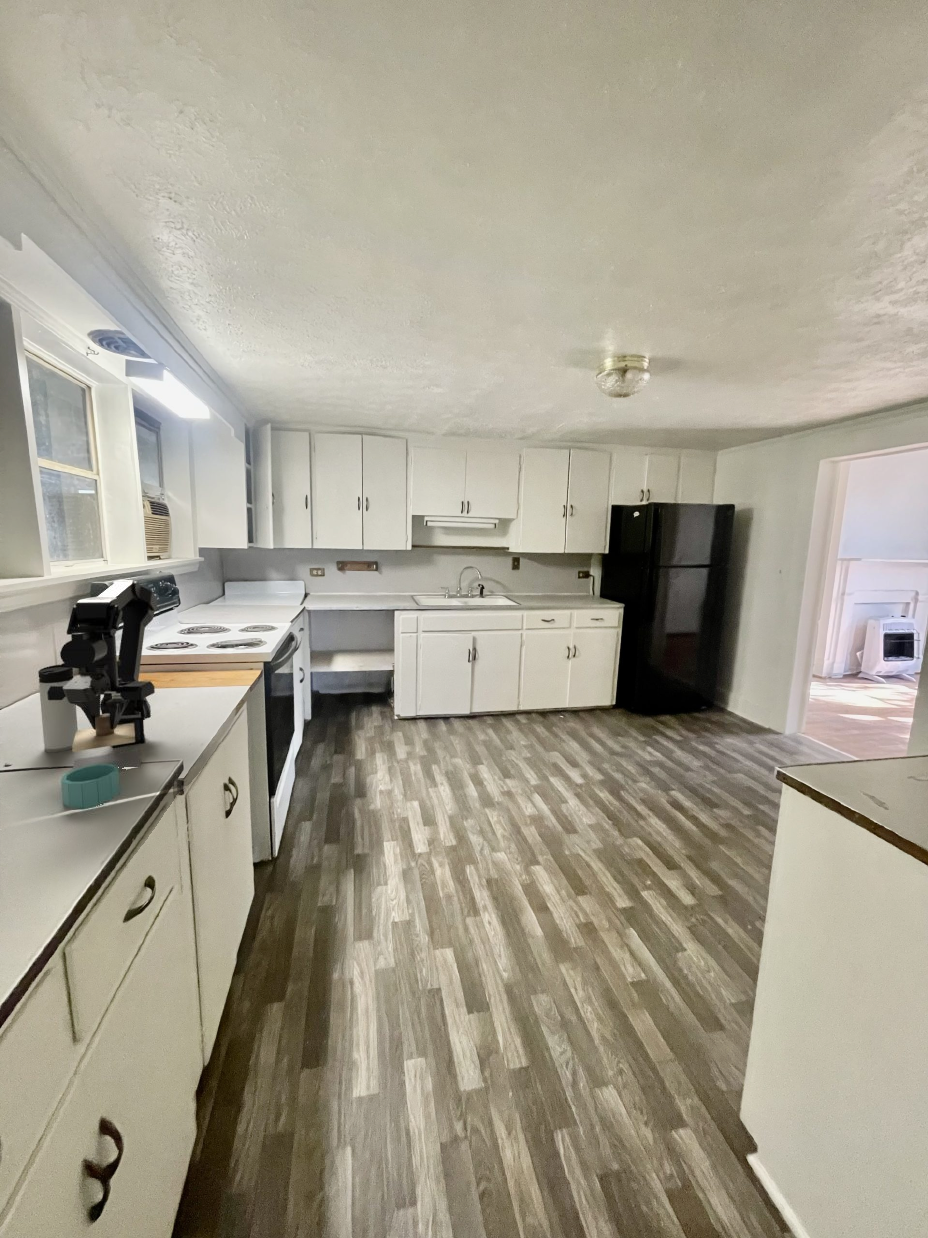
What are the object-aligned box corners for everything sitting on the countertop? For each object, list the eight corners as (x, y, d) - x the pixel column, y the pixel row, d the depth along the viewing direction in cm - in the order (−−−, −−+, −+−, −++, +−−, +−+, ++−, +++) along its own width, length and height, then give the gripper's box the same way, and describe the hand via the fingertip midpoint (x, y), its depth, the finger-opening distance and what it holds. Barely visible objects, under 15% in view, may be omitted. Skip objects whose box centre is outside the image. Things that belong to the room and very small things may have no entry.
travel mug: (86, 744, 119) (81, 663, 116) (62, 754, 112) (55, 669, 110) (63, 742, 119) (56, 662, 117) (37, 753, 113) (30, 668, 110)
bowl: (119, 784, 99) (118, 760, 98) (119, 801, 92) (117, 776, 91) (65, 794, 94) (63, 770, 93) (61, 814, 87) (59, 787, 86)
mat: (139, 751, 115) (139, 749, 115) (141, 769, 105) (141, 767, 105) (75, 762, 108) (74, 759, 108) (70, 782, 99) (70, 780, 98)
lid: (134, 727, 113) (133, 706, 113) (135, 742, 105) (133, 718, 104) (76, 736, 107) (75, 713, 107) (72, 752, 99) (70, 727, 98)
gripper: (22, 666, 95) (29, 743, 97) (123, 666, 97) (128, 742, 99) (64, 655, 106) (69, 724, 108) (154, 655, 108) (157, 724, 110)
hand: (105, 729), depth 106 cm, fingers closed on lid, 3 cm apart
